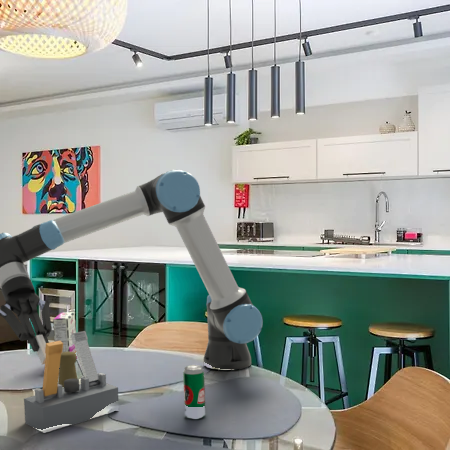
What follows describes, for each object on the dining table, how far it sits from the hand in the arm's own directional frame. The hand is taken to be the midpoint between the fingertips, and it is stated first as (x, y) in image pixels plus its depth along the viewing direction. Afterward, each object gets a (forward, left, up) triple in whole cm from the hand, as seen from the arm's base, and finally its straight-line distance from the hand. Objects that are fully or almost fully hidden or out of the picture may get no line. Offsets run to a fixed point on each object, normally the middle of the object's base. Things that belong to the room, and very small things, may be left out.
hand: (46, 360), depth 139 cm
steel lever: (-4, -12, -9) cm, 15 cm away
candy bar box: (+31, -47, -16) cm, 59 cm away
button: (-2, -6, -10) cm, 12 cm away
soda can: (-31, -15, -16) cm, 38 cm away
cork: (+12, -23, -16) cm, 31 cm away
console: (-2, -6, -16) cm, 17 cm away
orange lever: (+1, -1, -9) cm, 9 cm away
